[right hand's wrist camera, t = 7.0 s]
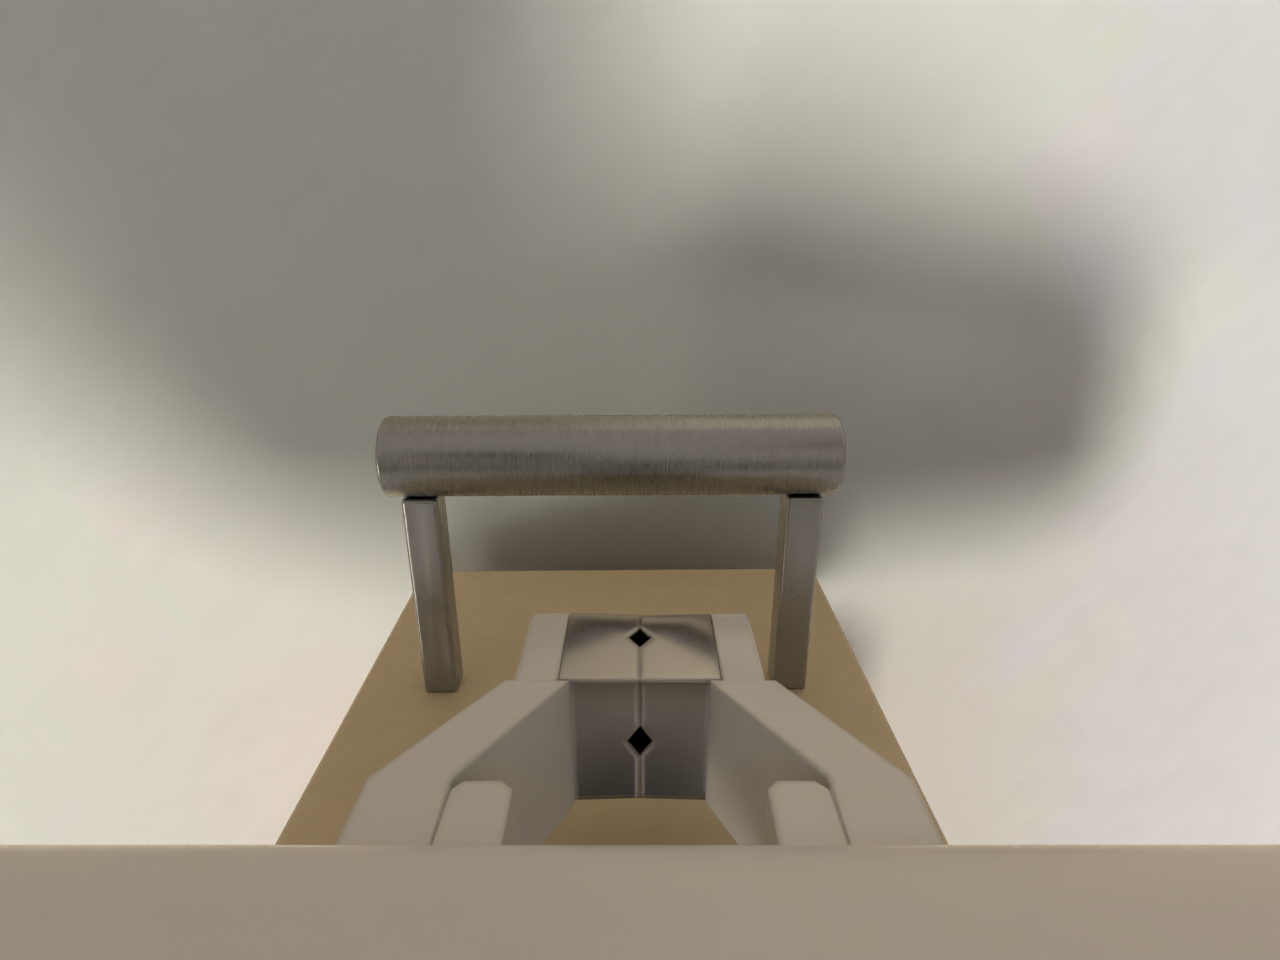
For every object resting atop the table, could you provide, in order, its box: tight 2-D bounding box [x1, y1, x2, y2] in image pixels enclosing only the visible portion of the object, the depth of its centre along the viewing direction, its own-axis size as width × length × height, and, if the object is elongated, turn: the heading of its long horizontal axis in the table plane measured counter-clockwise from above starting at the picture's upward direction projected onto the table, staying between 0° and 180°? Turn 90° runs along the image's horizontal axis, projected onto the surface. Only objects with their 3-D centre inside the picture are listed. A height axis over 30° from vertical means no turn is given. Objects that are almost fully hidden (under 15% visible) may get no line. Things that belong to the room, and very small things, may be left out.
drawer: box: [275, 414, 948, 845], centre depth 15 cm, size 21×10×10 cm, turn 0°
